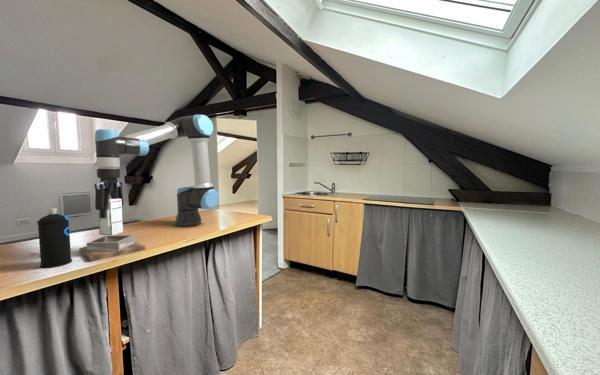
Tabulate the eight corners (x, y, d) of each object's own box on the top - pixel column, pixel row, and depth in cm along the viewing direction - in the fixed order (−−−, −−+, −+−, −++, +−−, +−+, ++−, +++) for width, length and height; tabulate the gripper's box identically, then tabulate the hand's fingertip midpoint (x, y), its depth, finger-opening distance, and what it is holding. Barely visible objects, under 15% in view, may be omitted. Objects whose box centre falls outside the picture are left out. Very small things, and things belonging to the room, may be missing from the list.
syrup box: (123, 232, 105) (122, 198, 104) (111, 235, 99) (110, 199, 98) (111, 231, 105) (109, 198, 104) (98, 235, 99) (97, 199, 98)
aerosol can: (43, 270, 82) (39, 211, 81) (36, 265, 87) (32, 208, 85) (75, 262, 89) (72, 207, 88) (67, 258, 94) (64, 206, 92)
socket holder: (130, 241, 115) (129, 231, 115) (145, 249, 104) (144, 237, 104) (79, 251, 101) (78, 239, 101) (90, 261, 90) (89, 248, 90)
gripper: (113, 168, 109) (116, 219, 111) (79, 168, 90) (83, 230, 92) (131, 168, 110) (134, 219, 112) (102, 168, 91) (105, 229, 93)
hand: (111, 224), depth 102 cm, fingers closed on syrup box, 6 cm apart
